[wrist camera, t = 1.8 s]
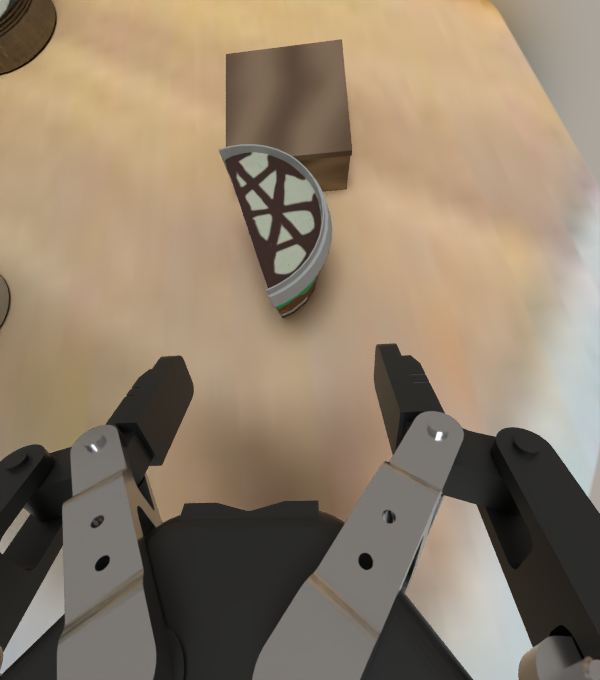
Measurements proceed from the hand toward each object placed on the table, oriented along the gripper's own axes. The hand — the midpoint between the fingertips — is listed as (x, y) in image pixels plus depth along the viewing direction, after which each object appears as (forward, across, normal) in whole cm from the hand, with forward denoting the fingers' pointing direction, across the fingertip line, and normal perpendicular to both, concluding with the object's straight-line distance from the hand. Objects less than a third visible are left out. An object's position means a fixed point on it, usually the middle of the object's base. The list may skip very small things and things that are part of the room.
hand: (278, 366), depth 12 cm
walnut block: (+29, 0, -7) cm, 30 cm away
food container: (+19, 0, +3) cm, 19 cm away
